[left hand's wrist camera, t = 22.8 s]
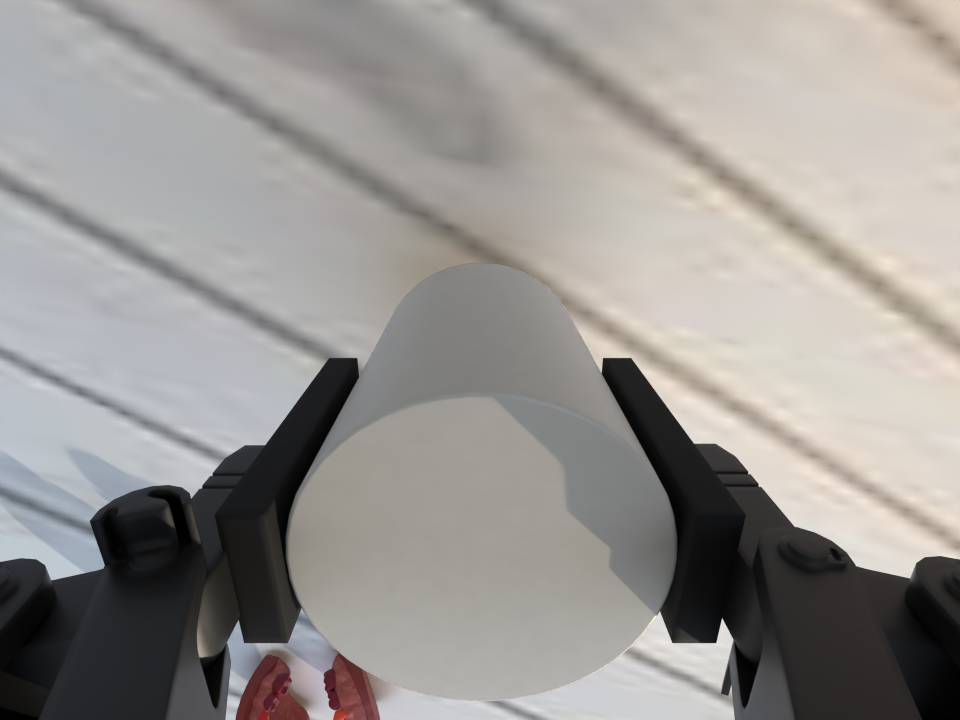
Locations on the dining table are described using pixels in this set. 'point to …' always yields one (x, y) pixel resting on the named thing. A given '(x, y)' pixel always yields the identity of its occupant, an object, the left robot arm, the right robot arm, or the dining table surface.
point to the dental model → (277, 716)
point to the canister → (481, 501)
